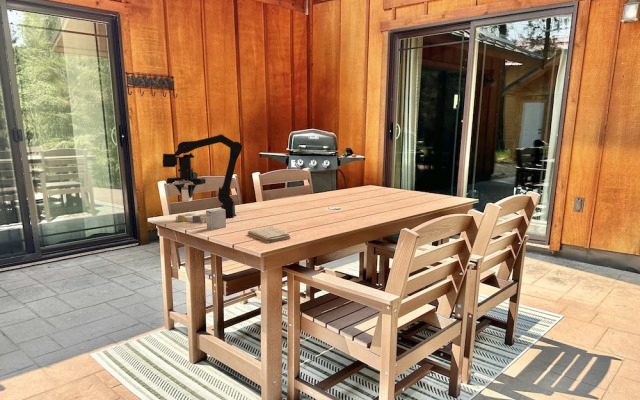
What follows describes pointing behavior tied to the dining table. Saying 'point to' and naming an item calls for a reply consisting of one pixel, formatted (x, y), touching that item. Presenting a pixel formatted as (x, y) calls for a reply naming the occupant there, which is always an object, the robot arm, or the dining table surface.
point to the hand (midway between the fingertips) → (187, 197)
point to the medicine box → (216, 218)
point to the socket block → (192, 217)
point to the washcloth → (269, 234)
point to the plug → (185, 194)
